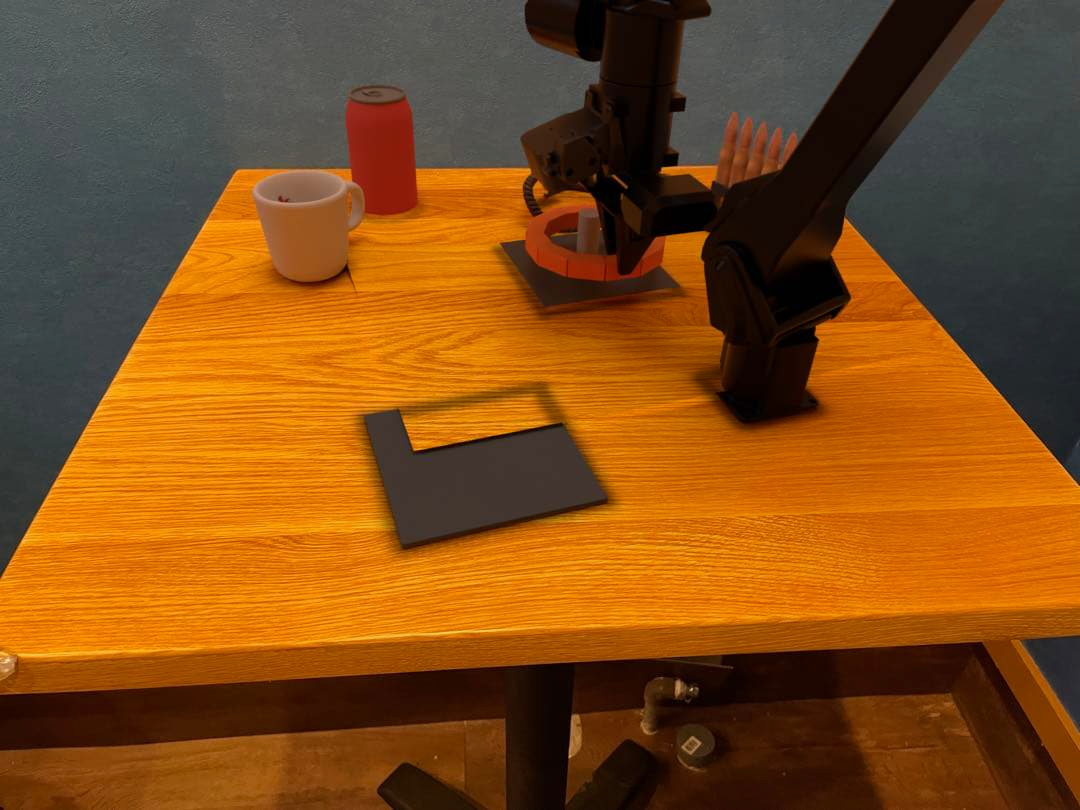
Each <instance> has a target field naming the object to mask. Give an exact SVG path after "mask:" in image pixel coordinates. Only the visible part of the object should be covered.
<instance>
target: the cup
mask: <svg viewBox="0 0 1080 810" xmlns="http://www.w3.org/2000/svg"><path fill="white" fill-rule="evenodd" d="M349 194H350V197H351V210H350V211H351V212H350V215H349ZM252 198H253V202H254V205H255V209H256V211H257V215H258V218H259V222H260V226H261V228H262V232H263V235H264V239H265V242H266V245H267V249H268V252H269V256H270V258H271V261H272V264H273V266H274V268H275V269H276V271H277V272H278V273H279V274H280V275H281V276H282V277H284V278H286V279H289V280H290V281H294V282H295V281H296V282H303V283H314V282H320V281H324V280H328V279H330V278H333V277H335V276H337V275H338V274H340V273H341V272H342V271H343V270H344V269H345V267H346V265H347V263H348V261H349V247H350V245H349V233H351V232H353V231H354V230H356V229H357V228H358V227H360V225H361V224H362V222H363V219H364V216H365V212H364V211H365V199H364V194H363V191H362V189H361V188H360V186H359V185H357V184H356V183H353V182H352V181H350V180H345V179H344V178H343V177H341V176H340V175H337V174H335V173H332V172H329V171H325V170H324V171H323V170H313V169H299V170H297V169H296V170H289V171H282V172H278V173H275V174H272V175H268V176H266V177H264V178H262V179H260V180H259V181H258V182H256V184H255V185H254V186H253V188H252Z"/></svg>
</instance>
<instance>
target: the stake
mask: <svg viewBox="0 0 1080 810" xmlns="http://www.w3.org/2000/svg"><path fill="white" fill-rule="evenodd" d="M548 238H549V240H550V241H551V242H552V243H553V244H555V245H557V246H560V247H562V248H565V249H567V250H570V251H572V252H575V253H582V254H591V255H600V256H606V255H607V253H606V248H605V243H604V238H603V233H602V229H601V228H600V219H599V214H598V210H596V209H583V210H580V211H579V219H578V232H574V233H565V234H560V235H559V234H558V235H552V236H550V237H548ZM499 246H501V248H502V249H503V251H504V252H505V253H506V255H507V256H508V257H509V259H510V261H511V262H512V264H513V265H514V266H515V268H516V269H517V271H518V272H519V273H520V275H521V277H523V280H525V282H526V283H527V285H528V287H530V289H531V291H532V292H533V293H534V294H535V296H536V297H537V299H538V300H539V302H540V303H541V305H542V306H543V308H547V307H556V306H562V305H570V304H575V303H582V302H588V301H595V300H603V299H609V298H615V297H622V296H630V295H636V294H643V293H648V292H655V291H663V290H669V289H675V288H680V287H682V286H681V285H680V284H679V283H678V282H677V281H676V280H675V279H674V278H673V277H672V276H671V275H670V274H669V273H668V272H667V271H666V270H665V269H664V268H663V267H662V266H661V265H659V266H657V267H656V268H654V269H652V270H650V271H649V272H647V273H645V274H644V275H642V276H640V275H639V277H632V278H625V279H618V280H611V281H605V279H604V281H597V280H588V279H579V278H571V277H568V276H566V277H565V276H562V275H560V274H558V273H555V272H553V271H551V270H548V269H546V268H543V267H541V266H539V265H538V264H536V262H535V261H534V260H533V258H532V257H531V256H530V254H529V253H528V252H527V250H526V248H525V239H519V240H509V241H502V242H499Z"/></svg>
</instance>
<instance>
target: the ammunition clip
mask: <svg viewBox="0 0 1080 810" xmlns="http://www.w3.org/2000/svg"><path fill="white" fill-rule="evenodd" d="M738 132H739V117H738V113H737V111H736V110H734V111H733V112H732V114H731V115H730V118H729V120H728V123H727V125H726V129H725V133H724V137H723V138H724V139H723V140H722V141H723V142H722V146H721V150H720V152H719V154H718V155H719V156H718V160H717V165H716V172H715V178H714V180H712V181H711V184H710V188H709V189H710V190H712V192H713V193H714V194H715V195H716V196H717V197H718V199H719V200H720V201H721V204H722V202H723V199H724V197H725V195H726V193H727V192H728V190H729V189H730V188H731V186H732V185H733V184H734V183H737V182H741V181H744V180H747V179H750V178H753V177H757V176H760V175H763V174H766V173H769V172H773V171H776V170H779V169H782V167H783V166H784V164H785V163H786V161H787V160H788V158H789V157H790V155H791V154H792V152H793V151H794V149H795V148H796V146H797V145H798V138H797V137H798V136H797V133H796V131H793V132H792V133H791V134H790V136H789V138H788V139H787V142H786V144H785V147H784V150H783V152H782V157H781V151H782V144H783V138H782V137H783V134H782V128H781V126H780V125H778V126H777V127H776V129H775V130H774V132H773V134H772V136H771V138H770V141H769V143H767V142H768V141H767V140H768V127H767V122H766V121H765V120H763V121H762V123H760V125H759V126H758V130H757V132H756V134H755V136H754V137H755V138H754V140H753V120H752V116H750V115H747V118H746V119H745V121H744V122H743V125H742V128H741V130H740V133H738ZM738 134H739V137H738ZM737 140H738V143H737ZM752 140H753V145H752ZM767 144H768V147H767ZM751 146H752V149H751ZM766 148H767V152H766ZM780 157H781V158H780ZM720 207H721V205H720Z"/></svg>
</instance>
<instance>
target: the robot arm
mask: <svg viewBox="0 0 1080 810" xmlns="http://www.w3.org/2000/svg"><path fill="white" fill-rule="evenodd" d="M1005 1H1006V0H893V1H892V2H891V3H890V5H889V7H888V8H887V9H886V10H885V12H884V13H883V15H882V16H881V18H880V20H879V22H878V23H877V24H876V26H875V27H874V29H873V31H872V32H871V33H870V35H869V36H868V38H867V39H866V41H865V42H864V44H863V46H862V47H861V48H860V49H859V52H858V53H857V54H856V56H855V58H854V59H853V61H852V62H851V63H850V65H849V66H848V68H847V70H846V71H845V73H844V74H843V75H842V76H841V78H840V80H839V81H838V82H837V84H836V86H835V87H834V89H833V91H832V92H831V94H830V95H829V96H828V98H827V99H826V100H825V103H824V104H823V106H822V107H821V108H820V110H819V111H818V113H817V115H815V117H814V119H813V121H812V122H811V124H810V125H809V126H808V128H807V130H806V131H805V132H804V134H803V135H802V136H801V139H800V140H799V142H797V146H796V148H795V149H794V151H793V152H792V154H791V155H790V157H789V158H788V160H787V161H786V163H785V164H784V166H783V167H782V169H779V168H778V170H776V171H773V172H769V173H766V174H763V175H760V176H757V177H753V178H750V179H747V180H744V181H741V182H737V183H734V184H733V185H732V186H731V188H730V189H729V190H728V192H727V193H726V195H725V197H724V199H723V202H722V204H721V201H720V200H719V199H718V197H717V196H716V195H715V194H714V193H713V192H712V190H710V189H711V188H709V187H708V186H707V185H705V184H704V183H702V182H701V181H700V180H698V179H697V178H696V177H695V176H693V175H692V174H691V173H684V174H674V175H671V174H669V173H664V172H662V170H663V169H664V168H671V167H678V165H679V157H680V152H678V151H677V150H676V149H674V148H673V147H672V146H670V142H671V136H672V127H673V119H674V113H684V112H685V111H686V106H687V105H686V104H687V96H685V95H683V94H682V93H680V92H679V91H678V90H677V88H678V78H679V72H680V63H681V54H682V46H683V39H684V30H685V22H686V21H690V20H699V19H704V18H708V17H710V16H711V15H712V12H713V11H712V10H713V9H712V6H711V5H710V3H709V2H708V0H527V1H526V2H525V4H524V13H523V14H524V24H525V26H526V30H527V32H528V34H529V36H530V37H531V39H532V40H533V41H534V42H535V43H536V44H537V45H539V46H542V47H544V48H547V49H550V50H552V51H556V52H558V53H561V54H564V55H567V56H570V57H573V58H575V59H580V60H581V61H585V62H590V63H598V62H599V75H598V83H589V84H588V89H586V90H584V100H583V101H584V103H583V107H582V108H580V109H576V110H574V111H572V112H567V113H564V114H561V115H559V116H557V117H555V118H552V119H551V120H548V121H546V122H544V123H542V124H540V125H538V126H536V127H533V128H532V129H530V130H527V131H525V132H524V133H522V135H520V139H519V140H520V143H521V147H522V149H523V152H524V155H525V158H526V160H527V164H528V167H529V170H530V174H531V173H532V176H533V177H534V178H536V179H537V180H538V181H537V182H539V183H540V185H541V186H542V188H543V189H544V190H545V191H546V192H548V191H549V192H555V191H559V190H561V189H564V188H566V187H567V185H568V184H570V185H573V184H575V183H578V182H579V183H580V184H581V185H582V186H583V187H584V188H585V189H586V190H587V191H588V192H589V193H588V192H587V193H588V194H590V195H591V196H592V197H593V200H594V202H595V205H596V206H597V210H598V214H599V219H600V223H601V228H600V229H601V230H602V233H603V238H604V243H605V248H606V253H607V255H614V254H616V259H617V270H618V273H619V275H621V276H622V275H629V274H631V273H632V272H633V270H634V269H635V267H636V266H637V264H638V263H639V261H640V260H641V258H642V257H643V255H644V254H645V252H646V251H647V249H648V248H649V246H650V245H651V243H652V242H653V241H654V239H655V238H656V237H662V236H666V237H668V236H677V235H684V234H692V233H700V232H707V233H709V234H708V235H707V237H706V238H705V240H704V242H703V244H702V248H701V253H700V259H701V261H702V262H703V273H704V282H705V291H706V298H707V299H706V300H707V307H708V316H709V322H710V326H711V327H712V328H714V329H716V331H719V332H721V333H722V335H723V336H724V339H723V345H722V348H721V354H720V359H719V364H720V365H719V366H720V367H719V369H720V370H721V371H722V373H721V378H720V383H721V386H722V388H723V390H722V391H716V392H714V394H715V395H716V396H717V397H718V399H720V401H721V402H722V403H723V404H724V405H725V406H726V407H727V408H728V409H729V411H730V412H731V413H732V414H733V415H734V416H735V417H736V419H737V420H738V421H740V423H743V424H746V425H748V424H753V423H757V422H762V421H768V420H772V419H773V420H774V419H777V418H782V417H787V416H791V415H796V414H800V413H806V412H810V411H816V410H818V408H819V404H820V402H819V400H818V399H817V398H816V396H814V395H813V394H812V393H811V391H809V390H808V389H807V385H808V381H809V378H810V374H811V372H812V367H813V363H814V360H815V357H816V353H817V349H818V345H819V342H820V339H819V337H817V336H816V331H817V326H819V325H821V324H823V323H825V322H827V321H829V320H831V321H832V320H835V319H836V318H838V317H839V316H840V315H841V314H842V312H843V311H844V310H845V308H847V306H848V305H849V304H850V302H851V301H852V295H851V293H850V290H849V288H848V287H847V284H846V282H845V280H844V278H843V276H842V274H841V272H840V269H839V267H838V266H837V263H836V262H835V260H834V259H835V258H833V255H832V253H833V252H834V251H835V250H834V249H836V246H837V244H838V243H839V240H840V239H841V237H842V235H843V230H844V223H845V217H846V211H847V206H848V204H849V202H850V200H851V198H852V197H853V196H854V194H855V193H856V192H857V191H858V190H859V188H860V186H861V185H862V184H863V183H864V181H865V180H866V179H867V178H868V176H869V175H870V174H871V172H873V170H874V169H875V168H876V166H877V165H878V164H879V162H880V161H881V160H882V159H883V157H884V156H885V155H886V154H887V152H888V151H889V149H890V148H891V147H892V146H893V145H894V143H895V142H896V141H897V139H898V138H899V137H900V136H901V134H902V133H903V132H904V130H905V129H906V128H907V126H908V125H909V124H910V123H911V121H912V120H913V119H914V118H915V116H916V115H917V114H918V112H919V111H920V110H921V109H922V107H923V106H924V105H925V104H926V103H927V101H928V100H929V98H930V97H931V96H932V95H933V93H934V92H935V91H936V89H937V88H938V87H939V86H940V84H941V83H942V82H943V81H944V79H945V78H946V77H947V75H948V74H949V73H950V72H951V70H952V69H953V68H954V67H955V65H957V63H958V61H959V60H960V59H961V57H962V56H963V55H964V54H965V52H966V51H967V50H968V49H969V48H970V46H971V45H972V43H974V41H975V40H976V38H977V37H978V36H979V34H980V33H981V32H982V30H983V29H984V28H985V27H986V26H987V24H988V23H989V22H990V21H991V19H992V18H993V17H994V15H995V14H996V13H997V11H998V10H999V9H1000V8H1001V7H1002V5H1003V4H1004V3H1005ZM720 205H721V207H720Z"/></svg>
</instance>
